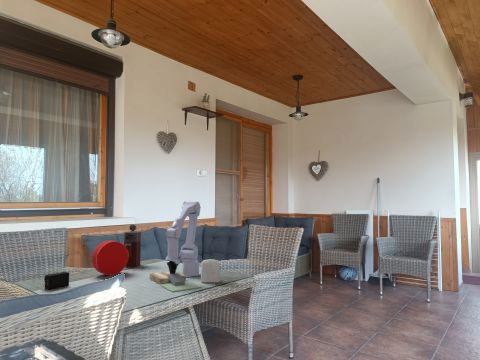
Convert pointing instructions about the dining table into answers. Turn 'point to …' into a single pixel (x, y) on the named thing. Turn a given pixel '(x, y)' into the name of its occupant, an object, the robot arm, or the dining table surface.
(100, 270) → the red thick disc
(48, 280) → the digital camera
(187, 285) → the mat
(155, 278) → the deck
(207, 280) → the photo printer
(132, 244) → the glass decanter
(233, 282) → the dining table surface
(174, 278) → the slate tile
